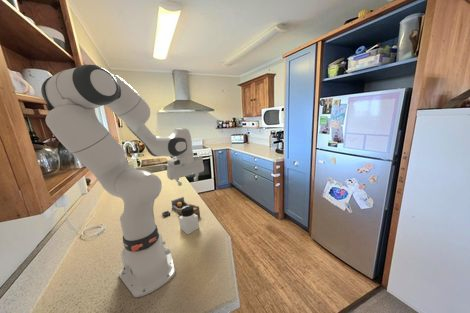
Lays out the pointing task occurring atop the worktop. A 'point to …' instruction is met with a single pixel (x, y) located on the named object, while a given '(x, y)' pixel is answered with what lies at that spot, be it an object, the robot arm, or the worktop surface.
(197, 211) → the launch ramp
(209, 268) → the worktop surface
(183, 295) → the worktop surface
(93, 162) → the robot arm
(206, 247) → the worktop surface
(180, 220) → the medicine bottle
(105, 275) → the worktop surface
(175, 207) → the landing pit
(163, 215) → the square nut
